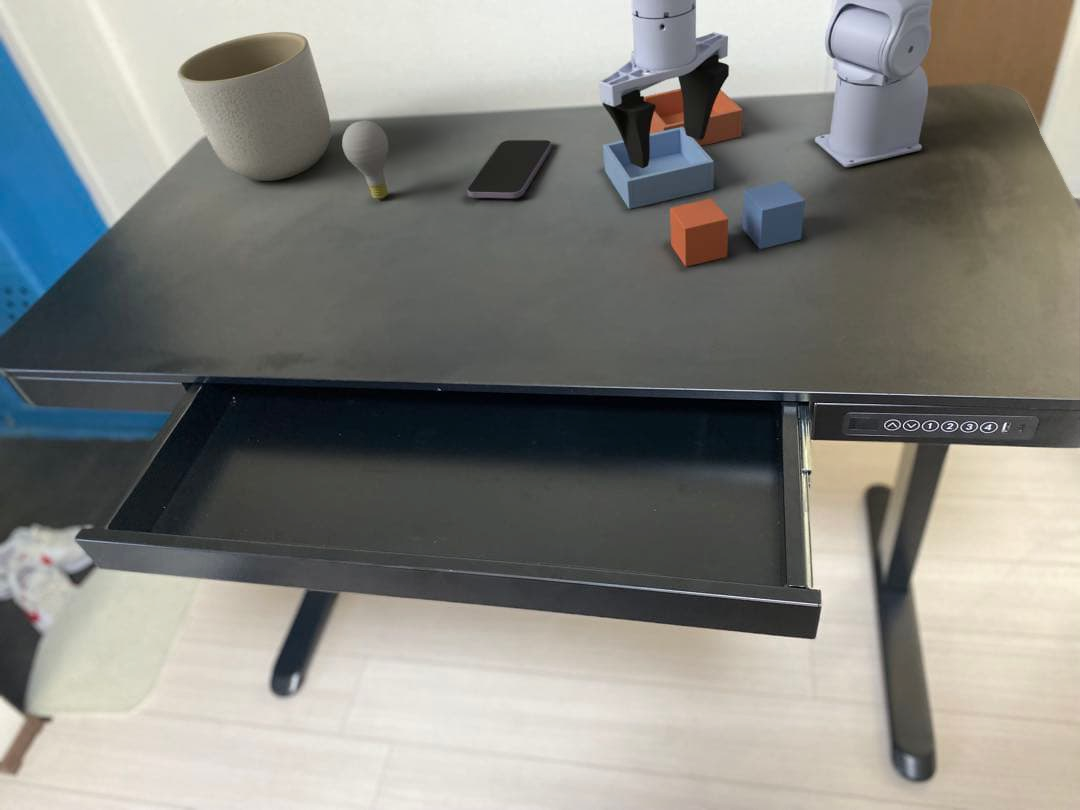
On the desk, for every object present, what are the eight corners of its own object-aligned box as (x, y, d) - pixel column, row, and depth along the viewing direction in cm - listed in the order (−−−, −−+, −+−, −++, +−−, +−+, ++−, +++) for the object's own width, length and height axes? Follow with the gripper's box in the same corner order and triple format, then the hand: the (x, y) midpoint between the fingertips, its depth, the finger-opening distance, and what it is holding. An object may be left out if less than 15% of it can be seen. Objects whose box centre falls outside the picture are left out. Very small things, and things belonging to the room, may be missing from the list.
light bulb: (410, 189, 102) (389, 114, 95) (387, 211, 98) (364, 134, 92) (375, 186, 104) (353, 111, 97) (352, 206, 101) (327, 131, 94)
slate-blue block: (782, 218, 85) (785, 180, 82) (801, 239, 82) (805, 200, 79) (742, 228, 85) (744, 190, 82) (759, 249, 81) (762, 210, 78)
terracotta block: (711, 235, 85) (711, 197, 81) (727, 257, 81) (728, 218, 78) (670, 245, 84) (669, 207, 81) (685, 267, 81) (685, 228, 78)
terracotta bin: (711, 106, 108) (712, 81, 105) (741, 136, 100) (742, 109, 98) (639, 123, 107) (638, 97, 105) (664, 154, 99) (663, 127, 97)
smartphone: (553, 139, 105) (520, 193, 95) (554, 148, 106) (521, 201, 95) (502, 140, 107) (463, 192, 97) (503, 147, 108) (465, 200, 97)
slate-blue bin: (683, 153, 99) (683, 126, 97) (713, 189, 91) (714, 161, 89) (604, 171, 98) (602, 144, 96) (629, 209, 91) (627, 181, 88)
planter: (304, 196, 104) (261, 81, 94) (200, 192, 110) (149, 82, 100) (363, 138, 116) (331, 29, 105) (267, 136, 121) (227, 33, 111)
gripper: (691, -22, 76) (692, 115, 86) (573, 24, 71) (587, 164, 81) (746, -11, 72) (740, 132, 81) (623, 40, 67) (632, 186, 76)
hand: (667, 150), depth 80 cm, fingers open, 7 cm apart
